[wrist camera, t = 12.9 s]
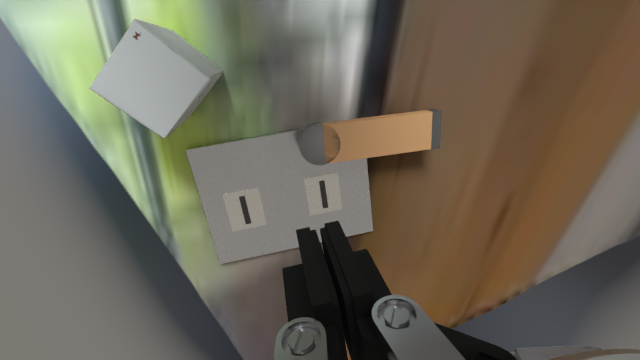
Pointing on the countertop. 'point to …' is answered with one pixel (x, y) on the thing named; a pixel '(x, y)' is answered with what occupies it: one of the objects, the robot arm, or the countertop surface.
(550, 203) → the countertop surface
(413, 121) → the swing arm
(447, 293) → the countertop surface
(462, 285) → the countertop surface
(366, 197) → the board
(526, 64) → the countertop surface
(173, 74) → the supplement box
